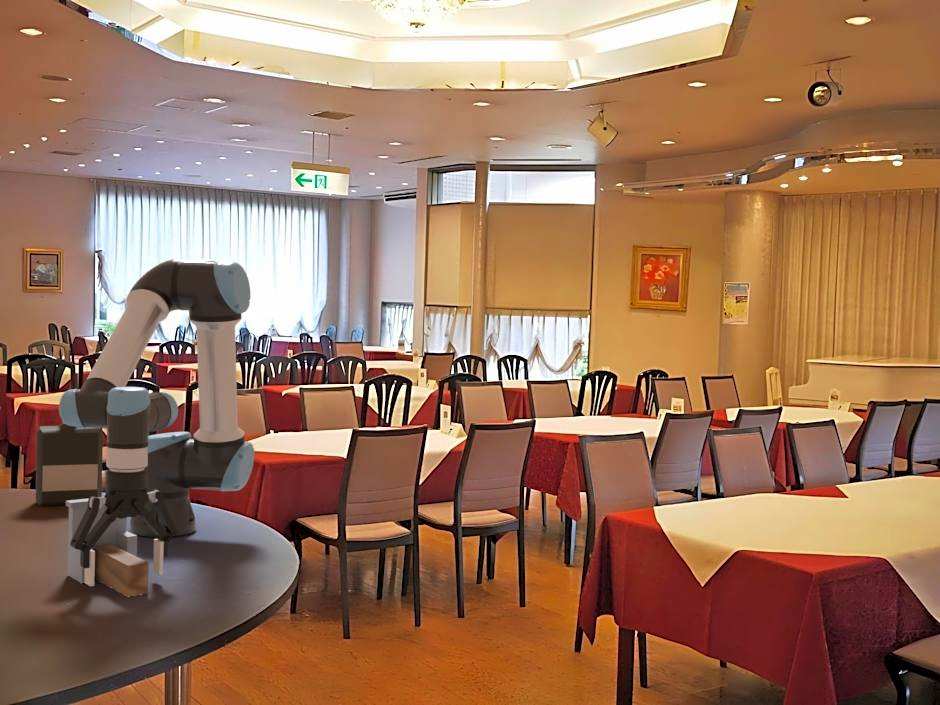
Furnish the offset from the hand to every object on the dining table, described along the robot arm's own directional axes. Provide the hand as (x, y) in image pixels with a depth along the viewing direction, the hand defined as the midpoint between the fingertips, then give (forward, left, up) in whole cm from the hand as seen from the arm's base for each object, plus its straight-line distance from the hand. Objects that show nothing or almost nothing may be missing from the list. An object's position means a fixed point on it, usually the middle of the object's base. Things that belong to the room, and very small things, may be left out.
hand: (124, 578), depth 194 cm
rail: (0, -2, -2) cm, 2 cm away
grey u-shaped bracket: (0, -10, -2) cm, 10 cm away
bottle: (-21, -81, -2) cm, 84 cm away
